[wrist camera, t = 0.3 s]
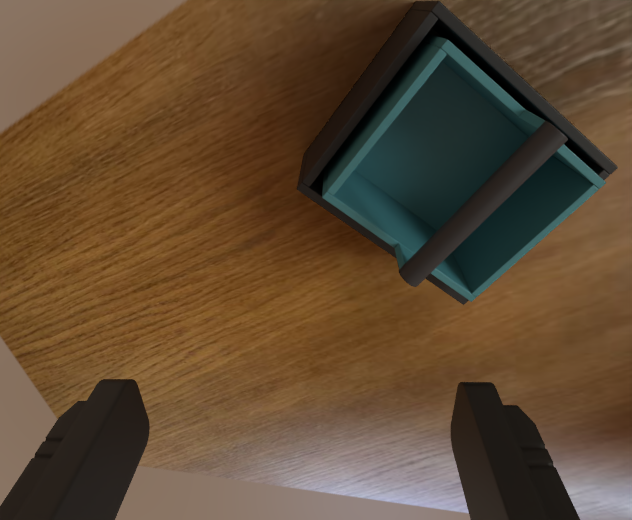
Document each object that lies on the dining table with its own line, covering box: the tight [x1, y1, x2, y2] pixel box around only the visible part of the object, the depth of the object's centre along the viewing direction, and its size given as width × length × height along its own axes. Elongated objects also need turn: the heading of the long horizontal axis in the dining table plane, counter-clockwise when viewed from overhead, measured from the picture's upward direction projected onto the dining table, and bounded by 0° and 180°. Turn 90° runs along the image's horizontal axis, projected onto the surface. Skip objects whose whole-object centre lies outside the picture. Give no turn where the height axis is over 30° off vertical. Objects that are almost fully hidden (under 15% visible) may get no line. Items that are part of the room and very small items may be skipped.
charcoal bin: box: [297, 1, 618, 305], centre depth 31 cm, size 15×13×8 cm
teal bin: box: [322, 33, 606, 302], centre depth 28 cm, size 13×11×13 cm
